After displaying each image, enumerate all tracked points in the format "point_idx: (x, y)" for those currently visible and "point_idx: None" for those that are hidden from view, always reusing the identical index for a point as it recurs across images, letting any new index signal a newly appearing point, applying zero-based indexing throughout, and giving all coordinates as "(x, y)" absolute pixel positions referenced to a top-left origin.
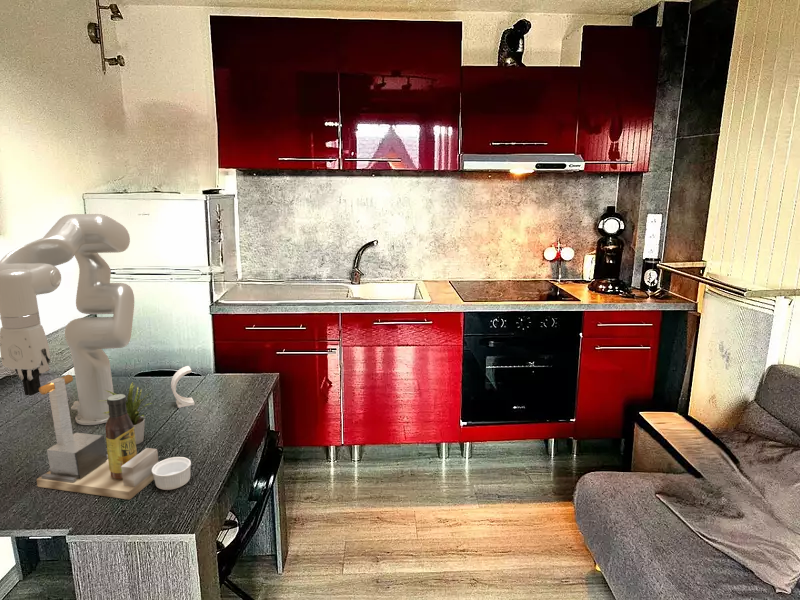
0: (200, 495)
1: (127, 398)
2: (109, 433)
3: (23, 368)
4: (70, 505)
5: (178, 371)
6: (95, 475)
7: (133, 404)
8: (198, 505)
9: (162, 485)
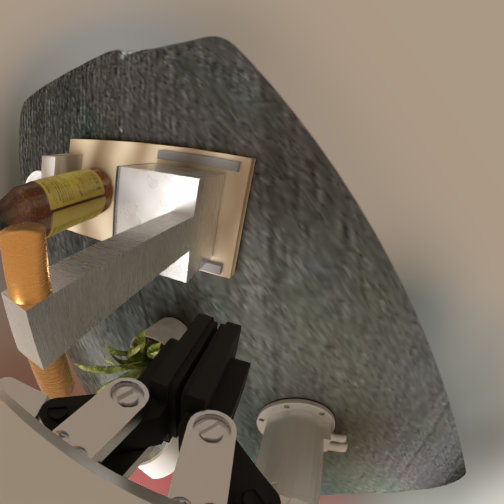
0: (27, 166)
1: None
2: (26, 186)
3: (32, 433)
4: (151, 104)
5: (162, 473)
6: None
7: None
8: (23, 146)
9: None
